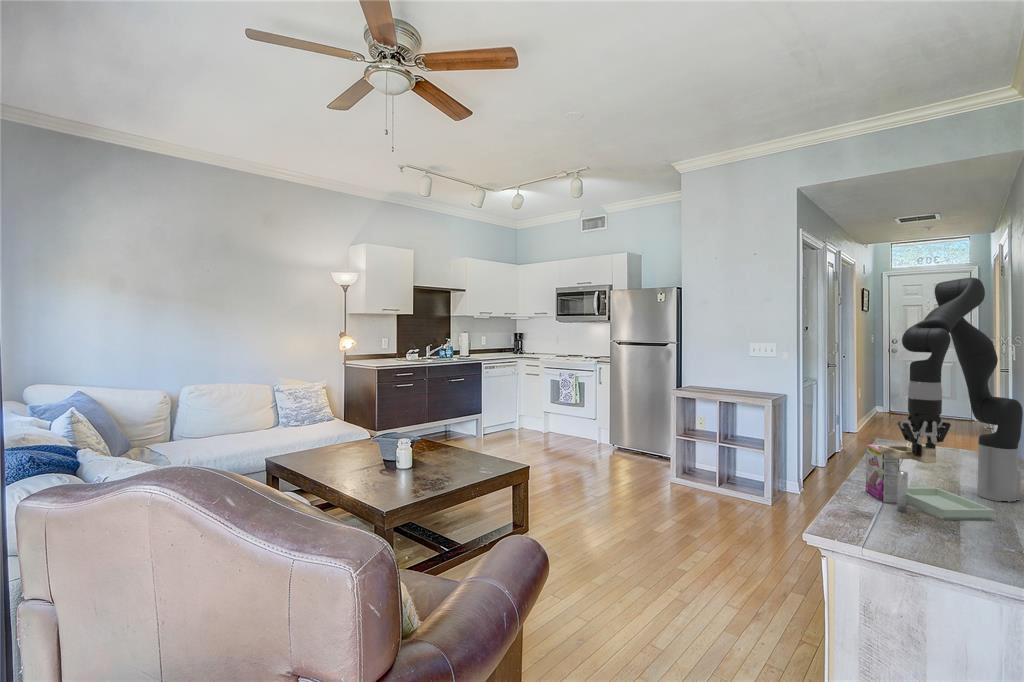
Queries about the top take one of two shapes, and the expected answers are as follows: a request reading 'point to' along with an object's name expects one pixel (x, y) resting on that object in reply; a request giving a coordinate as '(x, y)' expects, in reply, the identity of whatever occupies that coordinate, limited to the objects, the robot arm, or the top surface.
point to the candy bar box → (881, 474)
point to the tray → (947, 505)
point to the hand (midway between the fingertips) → (923, 456)
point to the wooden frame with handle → (910, 453)
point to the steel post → (902, 491)
